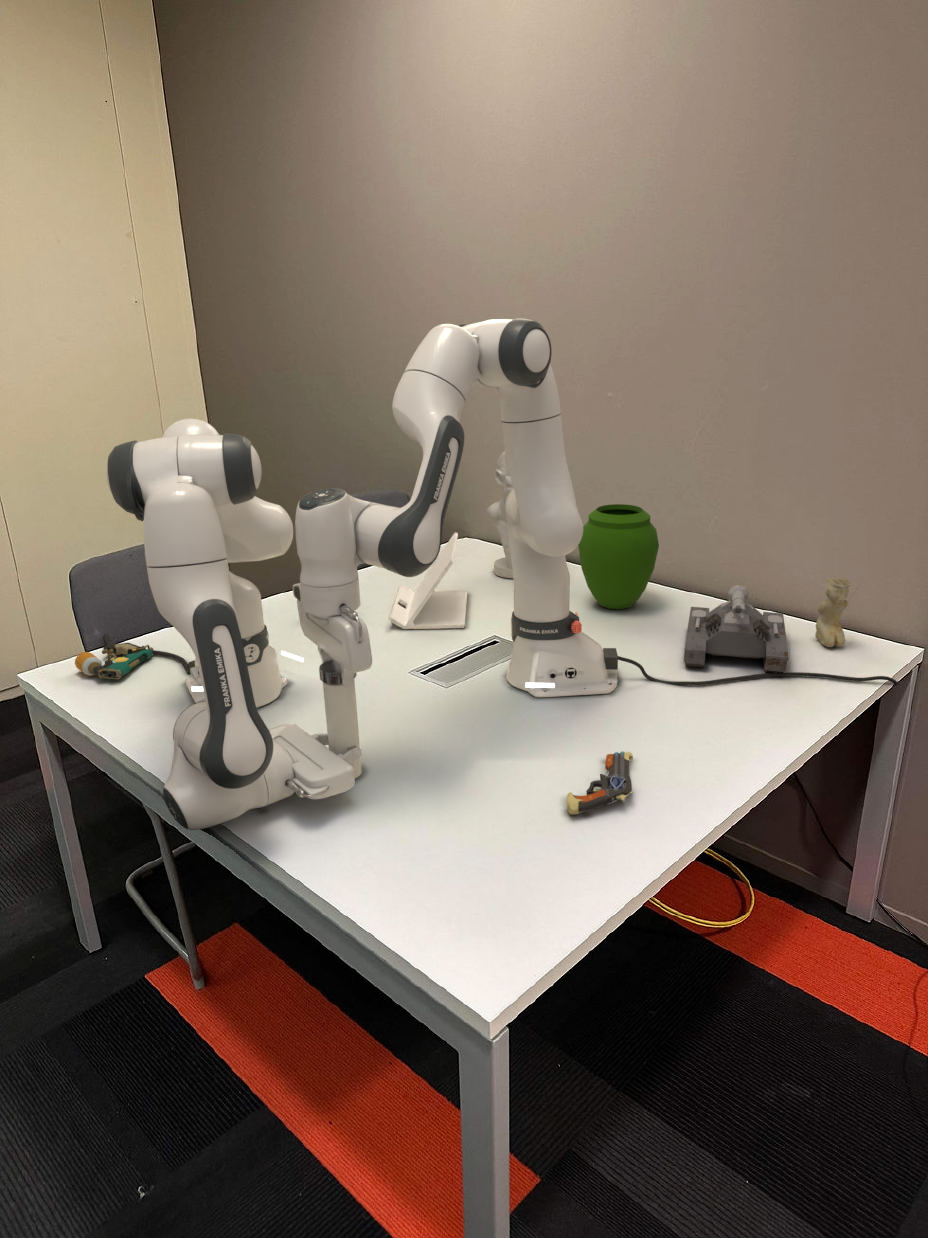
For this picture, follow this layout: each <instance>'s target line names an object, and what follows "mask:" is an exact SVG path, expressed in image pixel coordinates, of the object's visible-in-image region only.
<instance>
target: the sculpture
mask: <svg viewBox="0 0 928 1238" xmlns="http://www.w3.org/2000/svg"><path fill="white" fill-rule="evenodd" d="M826 581H827V586H826V588H825V590H824V593H825V595H826V596H827V598H826V600H824V601H822V602H821V603H820V604H819V605H818V606H817V609H816V610H817V612H818V614H819V616H818V617H817V619H816V623H815V630H816V631H815V634H814V635H815V639H817V640H819V642H820V643H821V644H822V645H823V646H825V647H827V648H832V647H834V646H835V647H843V646H844V645H845V643H846V642H845V641H846V636H845V632H844V630H843V626H842V624H841V622H840V621H841V617H842V615H843V612H844V610H845V609H846V608H847V606H848V604H849V603H848V602H849V601H847V598H848V597H849V592H850V586H851V585H852V582H850V580H848V579H847V578H845V577H841V576H840V577H835V578H831V577H827V578H826Z"/></svg>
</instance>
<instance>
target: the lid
mask: <svg viewBox="0 0 928 1238" xmlns="http://www.w3.org/2000/svg"><path fill="white" fill-rule="evenodd" d="M318 668H319V669H318V674H319V680H320V681H321V683H323V682H324V683H327V684H340V677H339V675H341V674H342V669H341V667H340V664H339V663H338V662H337V661H335V660H329V661H326V662H324V663H321V664H320V665H319V667H318ZM356 677H357V672H356V673H355V674H354V680H355V679H356Z"/></svg>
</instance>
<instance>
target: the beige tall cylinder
mask: <svg viewBox="0 0 928 1238" xmlns="http://www.w3.org/2000/svg"><path fill="white" fill-rule="evenodd" d="M355 682H356V681H355V680H354V685H353V686H352V687H349V688H344V687H343V686H342V685H341V684H327V683H324V682H322V688H323V690H322V691H323V699H324V712H325V721H326V732H327V733H326V734H328V744H329V745H328V749H330V750H331V751H332V752H334V753H335V754H336V755H339V754H343V755H344V754H345V753H346V752H347V748H349V747H352V746H354V745H355V746H357V747H359V748H360V749H361V747H360V731H359V720H358V708H357V694H356V683H355ZM350 765H351V766H352V767H353V769H354V777H355V779H357V778H359V777H360V776H361V775H362V773H363V771H362V758H359V759H357V760H354V761H353V762H352V763H351V764H350Z"/></svg>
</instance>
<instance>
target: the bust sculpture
mask: <svg viewBox="0 0 928 1238" xmlns="http://www.w3.org/2000/svg"><path fill="white" fill-rule="evenodd" d="M494 480H495V482H496V484H497V486H498V487H501V488H502V494H501V497H500V499H499V501H496V502H494V503H492V504H491V505H490V506H488V508H487V509H486V513H485V514H486V517H487V518H488V519H489V520H490V522H491V523H492V524H493V526H494V527H495V529H496V532H497V534H498V537H499V540H500V542H501V546H502V548H503V553H504V557H502V558H498V559H496V560H495V561H494V562H493V573H494V574H495V575H496V576H497V577H500V578H506V579H513V569H512V562H511V555H510V548H509V540H508V530H507V520H506V515H505V502H506V499H507V496H508V495H509V493H510V492H511V491H512V490H513V489H514V488H513V484H512V480H511V476H510V473H509V469H508V467H507V464H506V457H505V450H504V451H502V452H501V454H500V455H499V457H498V459H497V461H496V468H495V471H494Z"/></svg>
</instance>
